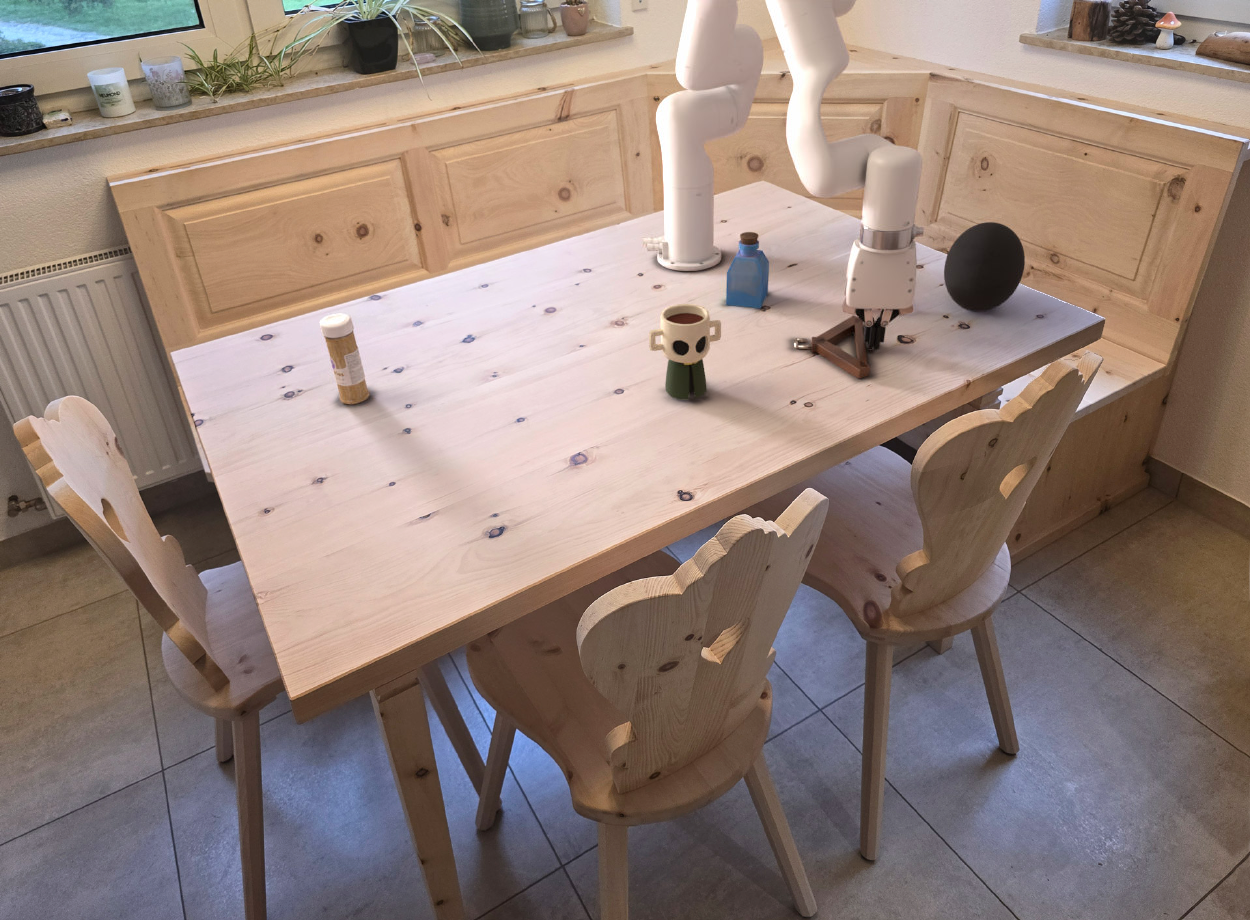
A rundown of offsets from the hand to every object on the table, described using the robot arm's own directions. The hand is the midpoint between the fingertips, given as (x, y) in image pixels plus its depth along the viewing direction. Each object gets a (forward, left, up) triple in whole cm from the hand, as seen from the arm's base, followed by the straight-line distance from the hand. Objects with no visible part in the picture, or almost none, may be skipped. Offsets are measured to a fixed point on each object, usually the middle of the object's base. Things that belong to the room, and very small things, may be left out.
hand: (873, 345), depth 142 cm
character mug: (-29, -15, -1) cm, 32 cm away
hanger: (-7, 0, -1) cm, 7 cm away
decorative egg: (+18, +16, -1) cm, 25 cm away
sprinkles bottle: (-80, -20, -1) cm, 82 cm away
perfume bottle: (-21, +18, -1) cm, 27 cm away
